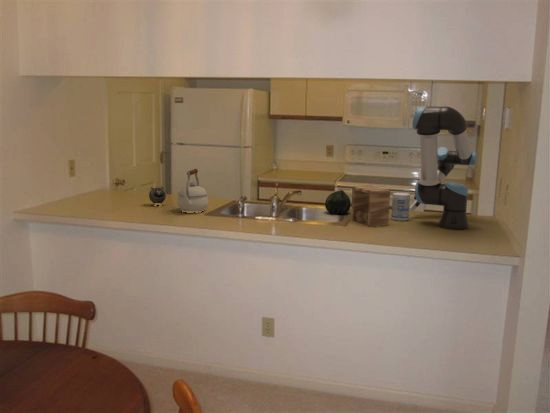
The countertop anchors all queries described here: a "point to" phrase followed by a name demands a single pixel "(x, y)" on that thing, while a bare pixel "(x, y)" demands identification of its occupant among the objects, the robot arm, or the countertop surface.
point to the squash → (338, 202)
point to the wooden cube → (370, 205)
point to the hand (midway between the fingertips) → (411, 209)
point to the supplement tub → (400, 206)
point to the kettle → (192, 195)
